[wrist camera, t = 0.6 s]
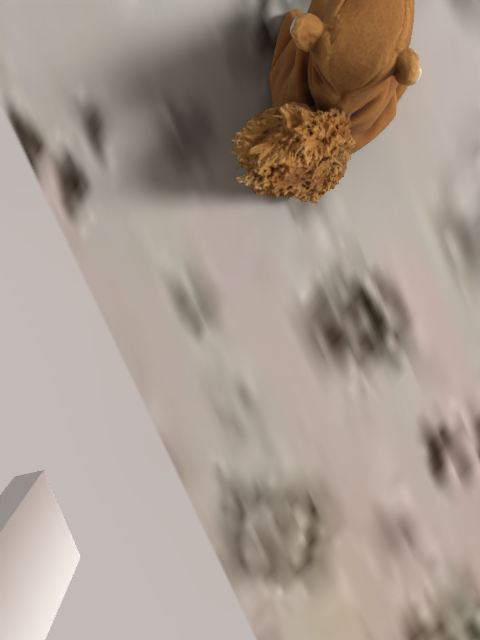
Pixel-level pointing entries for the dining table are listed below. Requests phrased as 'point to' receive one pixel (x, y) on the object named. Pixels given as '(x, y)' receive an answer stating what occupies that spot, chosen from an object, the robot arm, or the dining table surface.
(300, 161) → the stuffed squirrel
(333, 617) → the dining table surface
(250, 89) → the dining table surface
